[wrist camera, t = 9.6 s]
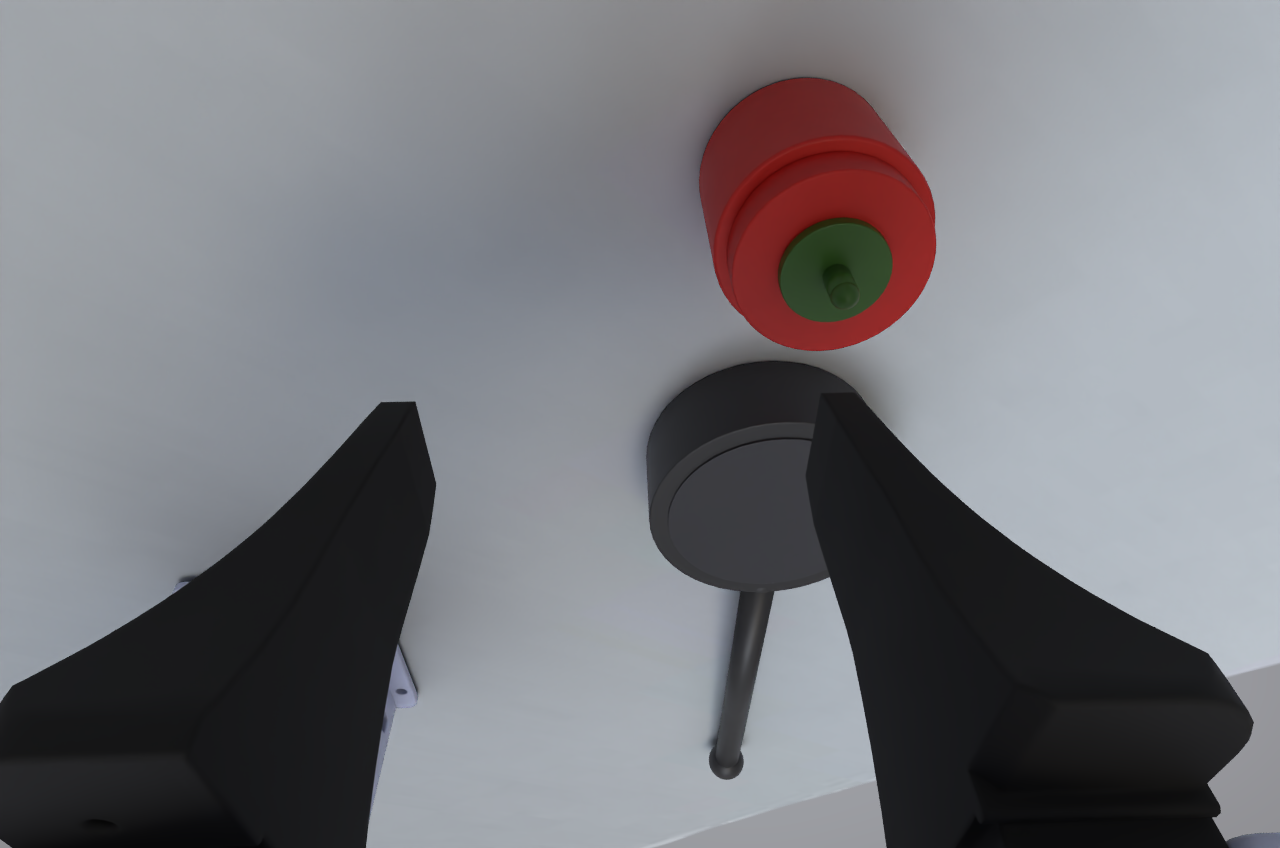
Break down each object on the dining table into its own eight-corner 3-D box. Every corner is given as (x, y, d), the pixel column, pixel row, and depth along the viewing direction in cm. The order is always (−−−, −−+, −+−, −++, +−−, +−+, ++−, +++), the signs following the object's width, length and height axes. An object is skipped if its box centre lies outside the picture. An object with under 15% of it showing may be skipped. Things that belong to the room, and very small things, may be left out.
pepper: (869, 258, 22) (940, 396, 17) (695, 262, 22) (718, 401, 17) (906, 74, 19) (1008, 181, 14) (702, 78, 19) (732, 186, 14)
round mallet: (797, 748, 41) (808, 808, 39) (649, 753, 41) (651, 812, 39) (896, 358, 24) (925, 420, 22) (645, 363, 24) (648, 427, 22)
